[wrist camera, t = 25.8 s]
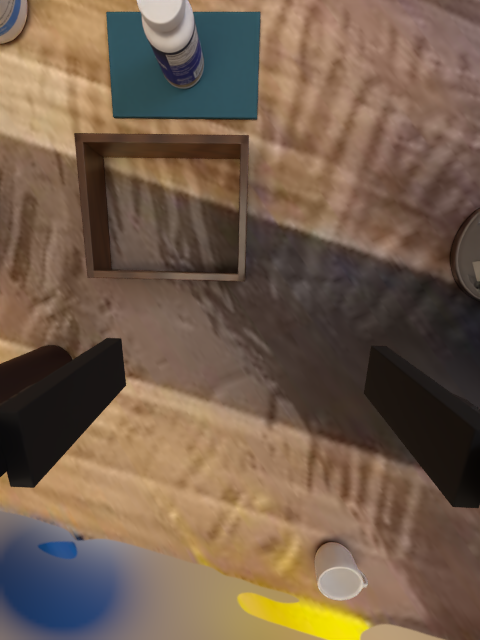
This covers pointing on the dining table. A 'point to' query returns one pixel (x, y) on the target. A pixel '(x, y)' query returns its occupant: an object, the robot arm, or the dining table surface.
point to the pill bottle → (173, 40)
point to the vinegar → (30, 369)
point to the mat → (212, 88)
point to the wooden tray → (149, 146)
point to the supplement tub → (12, 19)
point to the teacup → (338, 572)
